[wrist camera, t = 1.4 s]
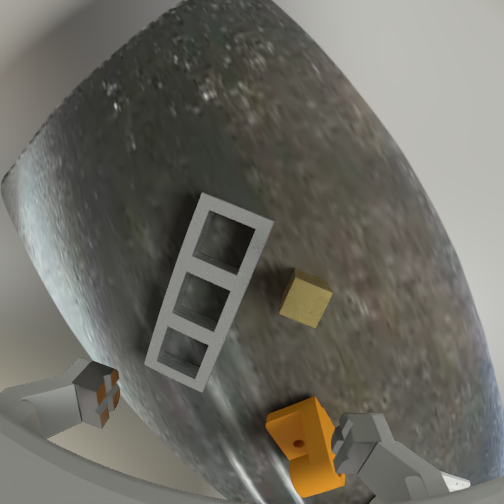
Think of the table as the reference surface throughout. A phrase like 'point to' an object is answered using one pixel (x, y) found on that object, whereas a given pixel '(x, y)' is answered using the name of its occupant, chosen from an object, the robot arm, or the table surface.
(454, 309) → the table surface
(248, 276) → the grey rectangular frame
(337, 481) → the bracket
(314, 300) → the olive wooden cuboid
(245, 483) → the table surface
